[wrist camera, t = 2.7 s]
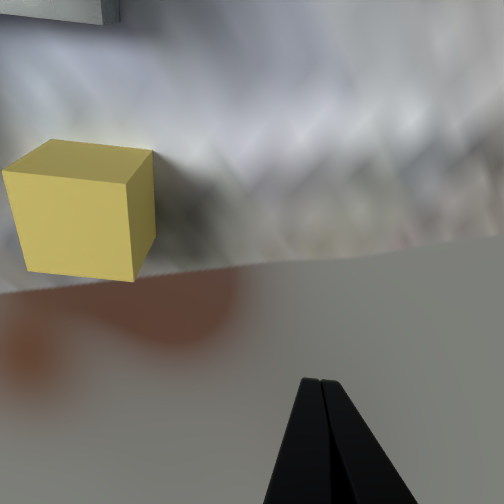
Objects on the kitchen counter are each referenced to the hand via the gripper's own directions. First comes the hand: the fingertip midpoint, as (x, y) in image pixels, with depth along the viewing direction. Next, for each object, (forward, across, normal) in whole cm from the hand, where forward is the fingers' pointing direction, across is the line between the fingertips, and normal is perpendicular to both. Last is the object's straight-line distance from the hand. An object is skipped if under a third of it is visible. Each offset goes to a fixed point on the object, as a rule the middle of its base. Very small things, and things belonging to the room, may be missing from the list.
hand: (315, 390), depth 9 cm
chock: (+9, +8, 0) cm, 12 cm away
